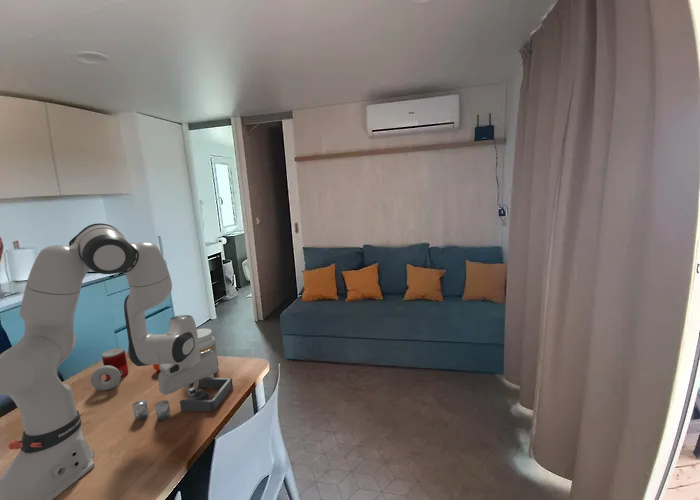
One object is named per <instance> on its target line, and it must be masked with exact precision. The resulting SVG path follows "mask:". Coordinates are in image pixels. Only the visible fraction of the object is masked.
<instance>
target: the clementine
mask: <svg viewBox="0 0 700 500" xmlns="http://www.w3.org/2000/svg"><path fill="white" fill-rule="evenodd" d="M159 365H160V364H153V365H152V367H153V369H154V370H155V371H157V372H161V370H160V369H159Z"/></svg>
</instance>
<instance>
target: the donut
mask: <svg viewBox="0 0 700 500" xmlns="http://www.w3.org/2000/svg"><path fill="white" fill-rule="evenodd" d="M106 374H107V375H109V376H110V377H111V379H110V380H107V381H105V380H103V379H102V377H103V376H104V375H106ZM121 379H122V378H121V374H120V372H119V370H118V369H117V368H115V367H113V366H109V365H107V366H104V365H102V366H99V367H98V368H96V369H95V370H94V371H93V372H92V373H91V376H90V383H91V386H92V387H93V388H94V389H96V390H98V391H101V392H102V391H103V392H104V391H110V390H112V389H114V388H116V387H117V386H118V385H119V383H120V382H121Z"/></svg>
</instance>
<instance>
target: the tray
mask: <svg viewBox="0 0 700 500" xmlns="http://www.w3.org/2000/svg"><path fill="white" fill-rule="evenodd" d="M200 383H201V388H202V389H203V388H205V389H218V388H219V390H218V391H217V393H216V394H215V395H214V396H213V397H212V399H210V400H188V399H180V401H179V403H180V404H179V406H180V410H181V411H184V412H185V411H186V412H189V411H190V412H215V411H216V410H217V408H218V406H219V405H221V403H222V402H223V400H224V398H225V397H226V396H227V395H228V393H230V391H231V390H232V388H233V385H234V384H233V378H232V377H214V378H203V379H200Z"/></svg>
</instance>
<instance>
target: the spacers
mask: <svg viewBox="0 0 700 500" xmlns="http://www.w3.org/2000/svg"><path fill="white" fill-rule="evenodd" d="M205 378H215V376H214V374H211V375H209V376H207V377H205ZM193 385H194V383H191V384H189V387H190V386H193ZM154 407H155V413H156V419H157V421H158V422H164V421H166V420H168V419H169V418H171V417H172V415H171V414H172V413H171V410H170V409H171V408H170V407H171V406H170V402H169V400H167V399H164V400H160V401H158V402H156V403H155V405H154ZM132 410H133V414H134V420H135V421H137V422H139V421H143V420H146V419H147V418H148V417H149V416H150V414H149V408H148V403H147V400H146V399H141V400H137V401H136V402H134V403H133V404H132Z"/></svg>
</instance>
